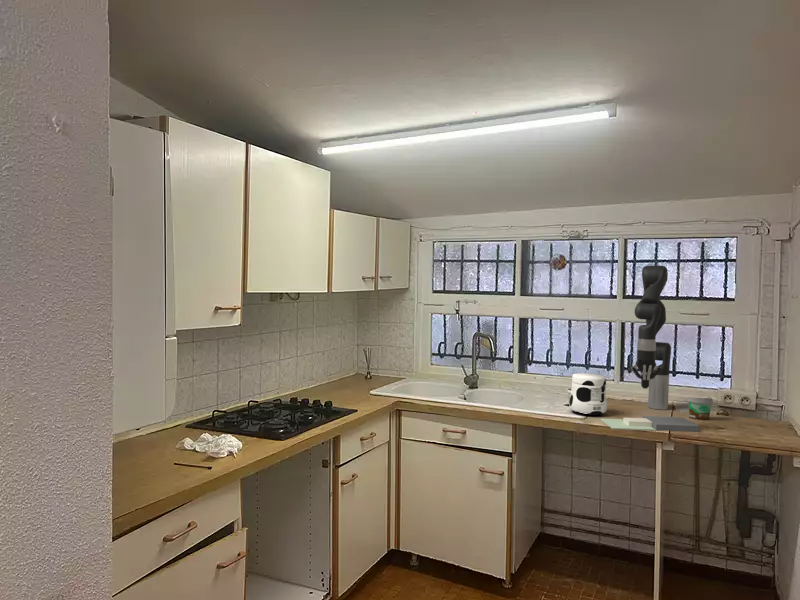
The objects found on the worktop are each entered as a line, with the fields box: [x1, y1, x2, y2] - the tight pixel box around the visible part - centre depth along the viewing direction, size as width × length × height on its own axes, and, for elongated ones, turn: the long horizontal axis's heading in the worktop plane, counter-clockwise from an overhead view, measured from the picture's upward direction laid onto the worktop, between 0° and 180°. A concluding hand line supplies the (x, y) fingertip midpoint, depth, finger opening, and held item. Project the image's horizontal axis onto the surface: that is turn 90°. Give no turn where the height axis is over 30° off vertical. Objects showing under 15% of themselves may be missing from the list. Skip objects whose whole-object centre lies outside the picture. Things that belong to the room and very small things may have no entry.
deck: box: [641, 415, 700, 433], centre depth 261 cm, size 16×18×2 cm
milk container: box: [568, 372, 608, 416], centre depth 283 cm, size 17×17×18 cm
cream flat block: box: [622, 417, 652, 427], centre depth 261 cm, size 7×10×2 cm
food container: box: [687, 395, 714, 421], centre depth 277 cm, size 12×6×10 cm, turn 105°
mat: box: [600, 418, 656, 431], centre depth 262 cm, size 17×18×1 cm
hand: (644, 388), depth 261 cm, fingers closed
